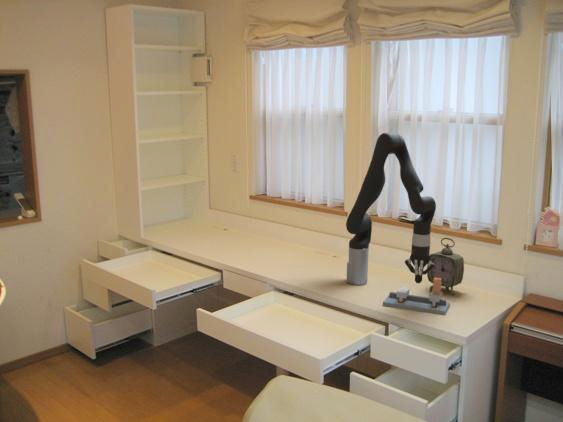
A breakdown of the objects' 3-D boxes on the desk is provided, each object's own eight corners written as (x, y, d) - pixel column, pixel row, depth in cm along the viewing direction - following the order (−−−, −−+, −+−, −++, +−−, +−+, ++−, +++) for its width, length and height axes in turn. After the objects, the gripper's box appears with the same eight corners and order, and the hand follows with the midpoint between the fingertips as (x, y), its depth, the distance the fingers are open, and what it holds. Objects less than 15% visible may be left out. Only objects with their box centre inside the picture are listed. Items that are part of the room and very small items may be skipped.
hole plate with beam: (382, 305, 264) (383, 292, 263) (389, 296, 275) (390, 284, 274) (444, 314, 254) (445, 301, 253) (449, 305, 265) (450, 292, 264)
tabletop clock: (425, 289, 286) (428, 236, 281) (436, 285, 292) (439, 233, 287) (453, 297, 276) (457, 242, 271) (464, 292, 282) (468, 239, 277)
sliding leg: (428, 305, 259) (430, 282, 256) (432, 300, 265) (433, 277, 263) (438, 307, 257) (440, 283, 255) (441, 301, 264) (443, 278, 262)
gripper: (403, 243, 261) (400, 283, 264) (435, 247, 255) (432, 287, 259) (407, 239, 267) (404, 278, 271) (438, 243, 262) (435, 282, 266)
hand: (418, 282), depth 265 cm, fingers closed
